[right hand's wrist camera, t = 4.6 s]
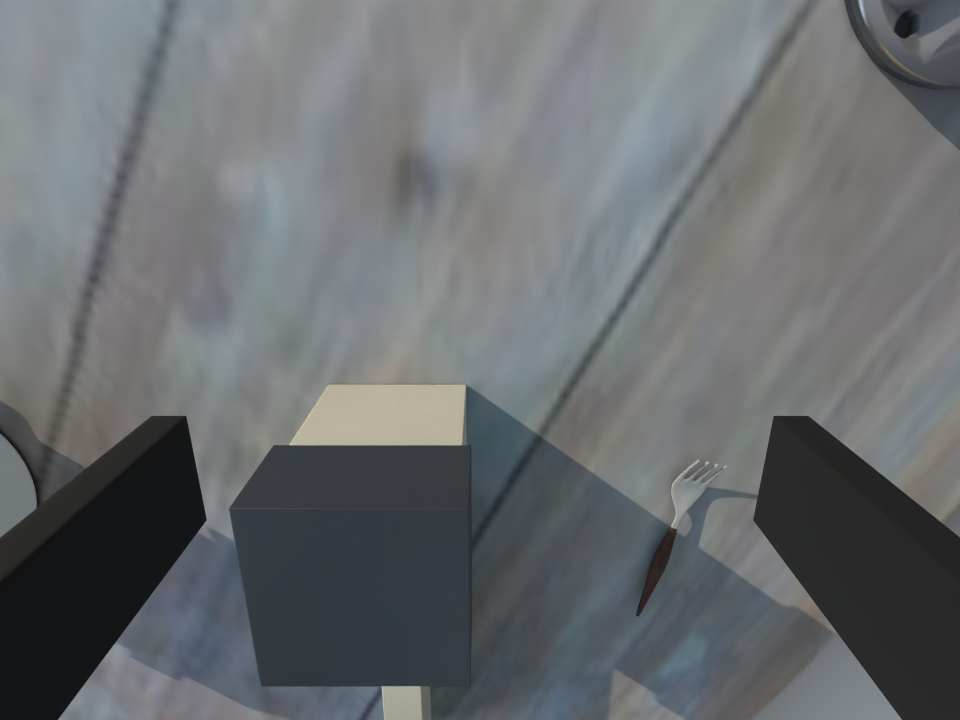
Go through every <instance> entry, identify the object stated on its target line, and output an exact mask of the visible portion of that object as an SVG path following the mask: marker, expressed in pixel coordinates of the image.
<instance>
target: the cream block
mask: <svg viewBox="0 0 960 720" xmlns="http://www.w3.org/2000/svg"><path fill="white" fill-rule="evenodd" d="M289 445H467V418H466V385H328V386H327V388H326V389H325V391H324V392H323V394H322V395H321V397H320V399H319V400H318V402H317V403H316V405H315V406H314V408H313V409H312V411H311V412H310V414H309V415H308V417H307V418H306V420H305V421H304V423H303V425H302V426H301V428H300V429H299V431H298V432H297V434H296V435H295V437H294V438H293V440H292V441H291V443H290V444H289ZM382 696H383V708H384V720H432V719H431V695H430V686H382Z"/></svg>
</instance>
